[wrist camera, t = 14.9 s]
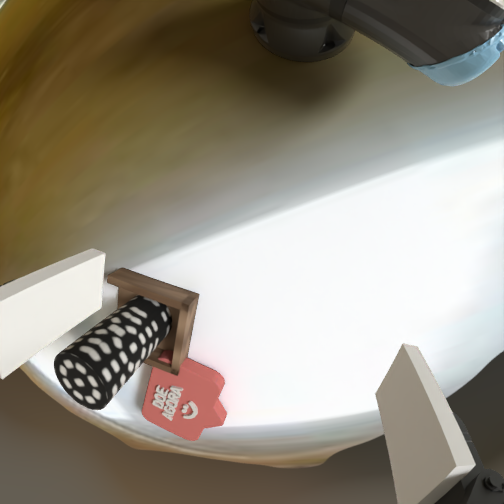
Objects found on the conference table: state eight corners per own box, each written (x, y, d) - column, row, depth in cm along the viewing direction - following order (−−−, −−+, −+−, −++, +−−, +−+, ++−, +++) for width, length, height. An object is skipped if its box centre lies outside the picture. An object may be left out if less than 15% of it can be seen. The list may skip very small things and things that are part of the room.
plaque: (208, 451, 50) (138, 418, 51) (213, 438, 54) (146, 407, 55) (239, 394, 45) (154, 355, 46) (244, 381, 49) (163, 344, 50)
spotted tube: (141, 342, 50) (77, 409, 31) (121, 299, 49) (44, 355, 30) (180, 333, 49) (120, 409, 29) (159, 287, 47) (83, 348, 28)
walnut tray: (122, 267, 48) (107, 275, 44) (199, 293, 47) (189, 305, 43) (117, 334, 52) (105, 345, 48) (186, 361, 50) (177, 376, 46)
